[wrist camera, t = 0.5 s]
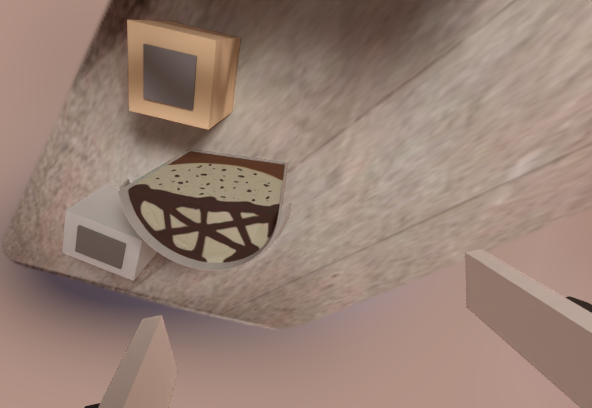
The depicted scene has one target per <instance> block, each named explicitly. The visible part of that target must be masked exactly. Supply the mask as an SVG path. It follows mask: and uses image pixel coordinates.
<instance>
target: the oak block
mask: <svg viewBox="0 0 592 408" xmlns="http://www.w3.org/2000/svg"><path fill="white" fill-rule="evenodd" d="M127 35H128V83H129V111H133V112H137V113H141V114H145V115H149V116H154V117H158V118H162V119H166V120H170V121H174V122H179V123H183V124H187V125H191V126H195V127H199V128H203V129H208V130H209V129H210V128H211V127H213V126H214V125H215V124H217V123H218V122H219V121H221V120H222V119H223V118H225V117H226V116H227V115H229V114H230V113H231V112H232V109H233V101H234V92H235V84H236V75H237V67H238V58H239V50H240V41H241V38H240V37H236V36H231V35H227V34H223V33H219V32H214V31H210V30H206V29H201V28H197V27H193V26H189V25H184V24H180V23H176V22H172V21H159V20H127Z"/></svg>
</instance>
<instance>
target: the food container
mask: <svg viewBox="0 0 592 408" xmlns="http://www.w3.org/2000/svg"><path fill="white" fill-rule="evenodd" d="M287 166H288V163H287V162H280V161H273V160H265V159H258V158H251V157H244V156H237V155H230V154H223V153H216V152H209V151H202V150H195V149H188V150H186V151H185V152H183V153H181V154H180V155H178V156H176V157H174V158H173V159H171V160H169V161H168V162H166V163H164V164H163V165H161V166H159V167H157V168H156V169H154V170H152V171H151V172H149V173H147V174H146V175H144V176H142V177H141V178H139V179H137V180H135V181H134V182H132V183H130V182H129V179H126V181H125V182H124V183H123V184H122V185H121V186H120V190H119V191H118V195H119V199H120V203H121V206H122V208H123V211H124V213H125V215H126V217H127V219H128V221H129V223H130V224H131V226H132V227H133V228H134V230H135V231H136V232H137V234H138V235H139V236H140V237H141V238H142V239H143V240H144V241H145V242H146V243H147V244H148V245H149V246H150V247H151V248H153V249H154V250H155V251H156V252H158V253H159V254H161V255H163V256H164V257H166V258H167V259H169V260H171V261H173V262H175V263H178V264H180V265H183V266H186V267H189V268H194V269H198V270H206V271H223V270H229V269H234V268H237V267H240V266H243V265H245V264H247V263H249V262H250V261H252V260H254V259H256V258H258V257H259V256H260V255H261V254H263V253H264V252H265V251H266V250H267V249H268V248H269V247H270V246H271V245H272V244H273V243H274V241H275V240H276V239H277V238H278V236H279V235H280V234H281V232H282V230H283V229H284V227H285V225H286V223H287V220H288V218H289V215H290V210H291V205H292V204H289V205H288V206H287V207H286V208H285V210H284V211H282V204H283V196H284V189H285V181H286V174H287Z"/></svg>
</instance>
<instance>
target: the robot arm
mask: <svg viewBox="0 0 592 408" xmlns="http://www.w3.org/2000/svg"><path fill="white" fill-rule="evenodd" d="M465 261H466V304H467V308H468V309H469V310H470V311H471V312H473V313H474V314H475V315H476V316H477V317H478V318H479V319H481V320H482V321H483V322H484V323H485V324H486V325H487V326H488V327H489V328H491V329H492V330H493V331H494V332H495V333H496V334H497V335H499V336H500V337H501V338H502V339H503V340H504V341H505V342H506V343H508V344H509V345H510V346H511V347H512V348H513V349H514V350H516V351H517V352H518V353H519V354H520V355H521V356H522V357H523V358H525V359H526V360H527V361H528V362H529V363H530V364H531V365H532V366H534V367H535V368H536V369H537V370H538V371H539V372H541V373H542V374H543V375H544V376H545V377H546V378H547V379H548V380H549V381H551V382H552V383H553V384H554V385H555V386H556V387H557V388H559V389H560V390H561V391H562V392H563V393H564V394H565V395H566V396H568V397H569V398H570V399H571V400H572V401H574V403H576V404H577V405H578V406H579V407H580V408H592V305H591V304H589V303H587V302H584V301H581V300H578V299H576V298H573V297H563V296H562V295H560V294H558V293H556V292H554V291H553V290H551V289H550V288H548V287H546V286H544V285H543V284H541V283H539V282H537V281H536V280H534V279H532V278H531V277H529V276H527V275H525V274H524V273H522V272H520V271H519V270H517V269H515V268H513V267H512V266H510V265H508V264H506V263H505V262H503V261H501V260H499V259H498V258H496V257H494V256H493V255H491V254H489V253H487V252H486V251H484V250H482V249H479V250H475V251H470V252H465ZM177 373H178V369H177V366H176V362H175V359H174V355H173V352H172V349H171V345H170V342H169V338H168V335H167V331H166V328H165V324H164V321H163V317H162V315H159V316H154V317H149V318H144V319H142V321H141V323H140V325H139V327H138V329H137V331H136V333H135V335H134V337H133V339H132V341H131V343H130V345H129V347H128V349H127V351H126V353H125V355H124V357H123V359H122V361H121V363H120V365H119V367H118V369H117V371H116V373H115V375H114V377H113V379H112V381H111V383H110V385H109V387H108V389H107V391H106V393H105V395H104V397H103V399H102V401H101V403H99V404H94V405H90V406H86V407H85V408H169V404H170V400H171V396H172V392H173V389H174V385H175V381H176V377H177Z"/></svg>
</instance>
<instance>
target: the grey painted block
mask: <svg viewBox="0 0 592 408" xmlns="http://www.w3.org/2000/svg"><path fill="white" fill-rule="evenodd" d="M119 190H120V188H118V187H115V186H113V185H110V184H108V183H107V184H105V185H104V186H102V187H100V188H99V189H97V190H96V191H94V192H93V193H91V194H90V195H88V196H87V197H85V198H84V199H82V200H81V201H79V202H77V203H76V204H74V205H73V206H71V207H70V208H68V209H67V210H66V214H65V226H64V238H63V251H62V253H64V254H66V255H69V256H71V257H74V258H76V259H79V260H81V261H84V262H86V263H89V264H92V265H94V266H97V267H99V268H102V269H104V270H107V271H109V272H112V273H114V274H117V275H120V276H122V277H125V278H127V279H130V280H132V281H134V280H135V279H136V277H137V276H138V275H139V274H140V273H141V271H142V270H143V269H144V268H145V267H146V266H147V264H148V263H149V262H150V261H151V260H152V258H153V257H154V256H155V255H156V254H157V252H156V251H155V250H154V249H153V248H151V247H150V246H149V245H148V244H147V243H146V242H145V241H144V240H143V239H142V238H141V237H140V236H139V235H138V234H137V232H136V231H135V230H134V228H133V227H132V226H131V224H130V223H129V221H128V219H127V217H126V215H125V213H124V211H123V208H122V206H121V203H120V199H119V195H118V191H119Z"/></svg>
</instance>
